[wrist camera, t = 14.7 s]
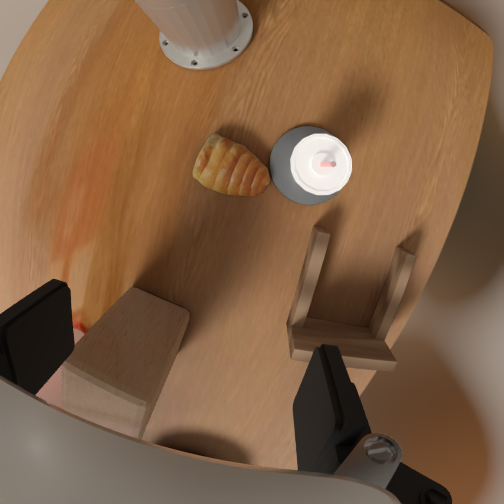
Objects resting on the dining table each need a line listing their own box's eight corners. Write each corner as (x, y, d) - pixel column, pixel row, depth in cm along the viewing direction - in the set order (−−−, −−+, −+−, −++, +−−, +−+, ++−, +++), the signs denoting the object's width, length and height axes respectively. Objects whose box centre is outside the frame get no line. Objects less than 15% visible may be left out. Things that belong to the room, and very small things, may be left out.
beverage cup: (274, 159, 37) (280, 154, 23) (313, 131, 35) (340, 112, 22) (303, 198, 38) (324, 216, 24) (341, 170, 37) (382, 174, 23)
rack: (313, 225, 39) (326, 242, 31) (405, 248, 40) (436, 269, 31) (286, 323, 43) (290, 359, 35) (373, 337, 44) (392, 371, 35)
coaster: (278, 118, 36) (278, 118, 35) (353, 138, 36) (355, 138, 35) (262, 194, 38) (261, 194, 38) (336, 212, 39) (337, 212, 38)
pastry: (278, 161, 37) (280, 161, 34) (256, 208, 39) (255, 213, 36) (211, 131, 37) (206, 128, 33) (190, 179, 39) (183, 180, 35)
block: (131, 282, 43) (58, 357, 23) (193, 309, 43) (149, 403, 24) (120, 334, 45) (60, 414, 26) (175, 358, 46) (136, 453, 27)
